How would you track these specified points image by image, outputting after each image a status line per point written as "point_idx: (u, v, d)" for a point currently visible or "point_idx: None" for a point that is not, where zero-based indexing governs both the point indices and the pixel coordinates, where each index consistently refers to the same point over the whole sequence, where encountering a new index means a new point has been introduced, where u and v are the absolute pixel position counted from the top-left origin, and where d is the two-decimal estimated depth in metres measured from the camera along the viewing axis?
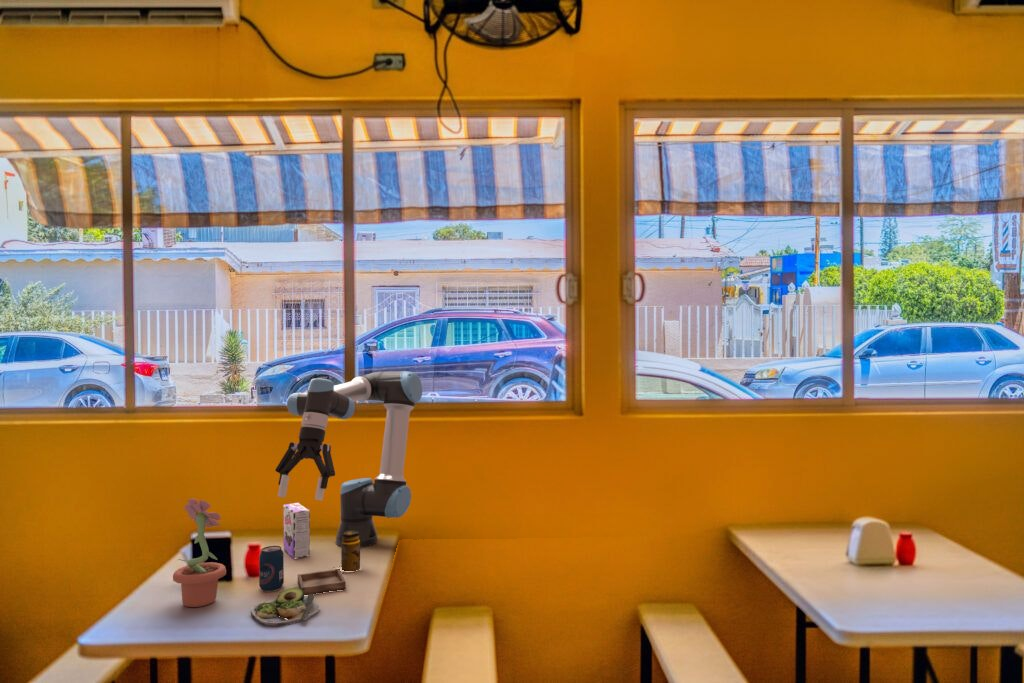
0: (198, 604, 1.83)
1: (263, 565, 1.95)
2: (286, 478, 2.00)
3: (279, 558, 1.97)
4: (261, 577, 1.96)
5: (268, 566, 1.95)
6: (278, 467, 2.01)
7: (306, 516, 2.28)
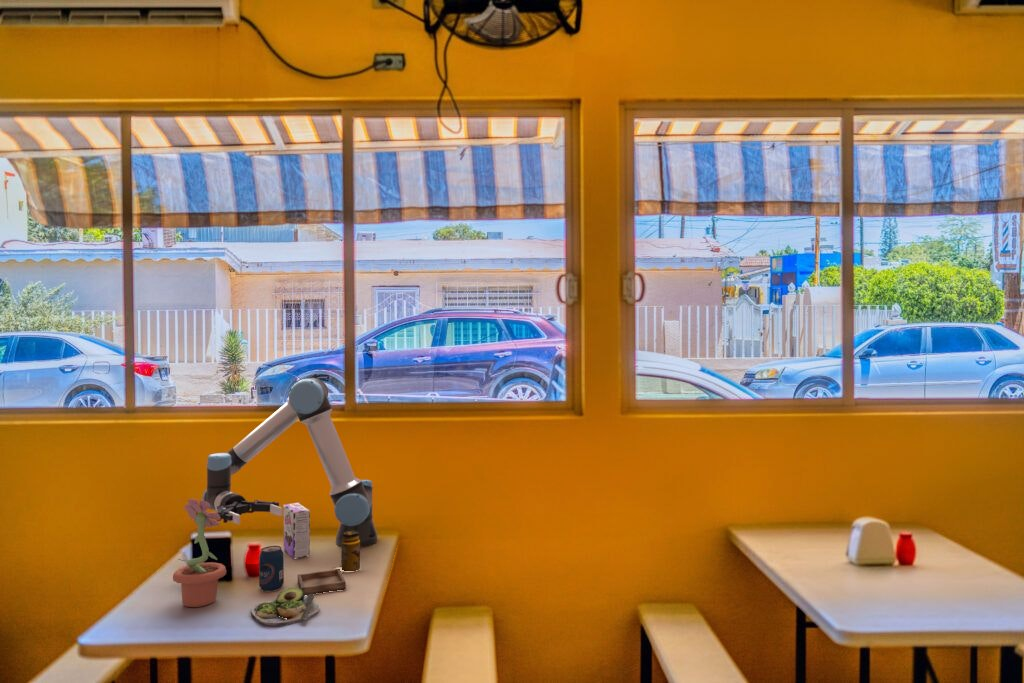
0: (198, 604, 1.83)
1: (263, 565, 1.95)
2: (271, 509, 2.14)
3: (279, 558, 1.97)
4: (261, 577, 1.96)
5: (268, 566, 1.95)
6: None
7: (306, 516, 2.28)
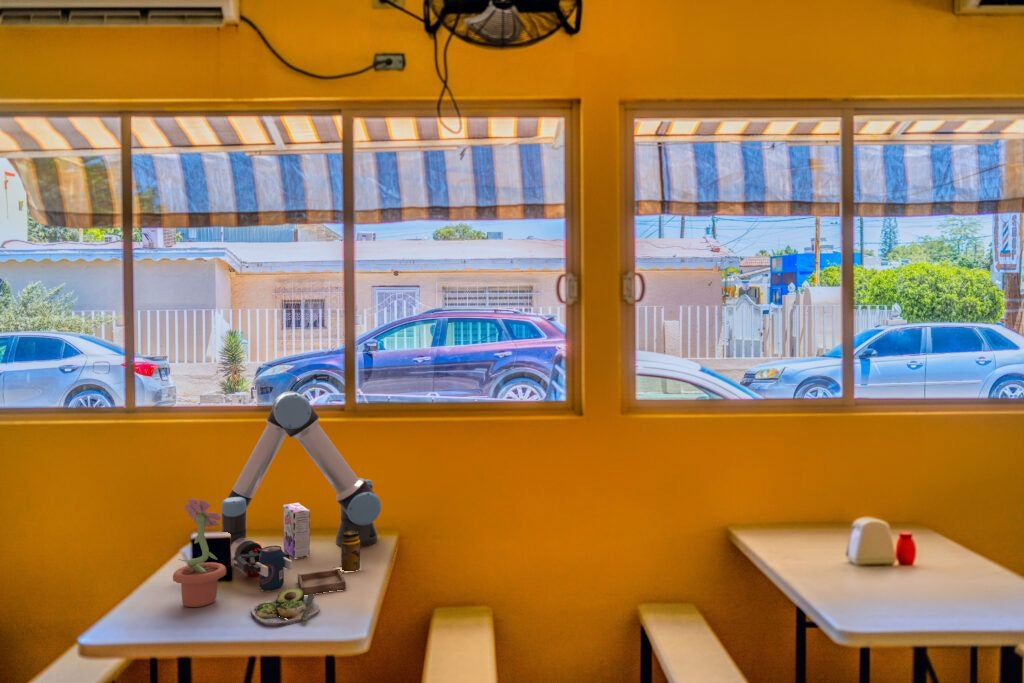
0: (198, 604, 1.83)
1: None
2: None
3: (279, 558, 1.97)
4: (261, 577, 1.96)
5: (268, 565, 1.95)
6: None
7: (306, 516, 2.28)
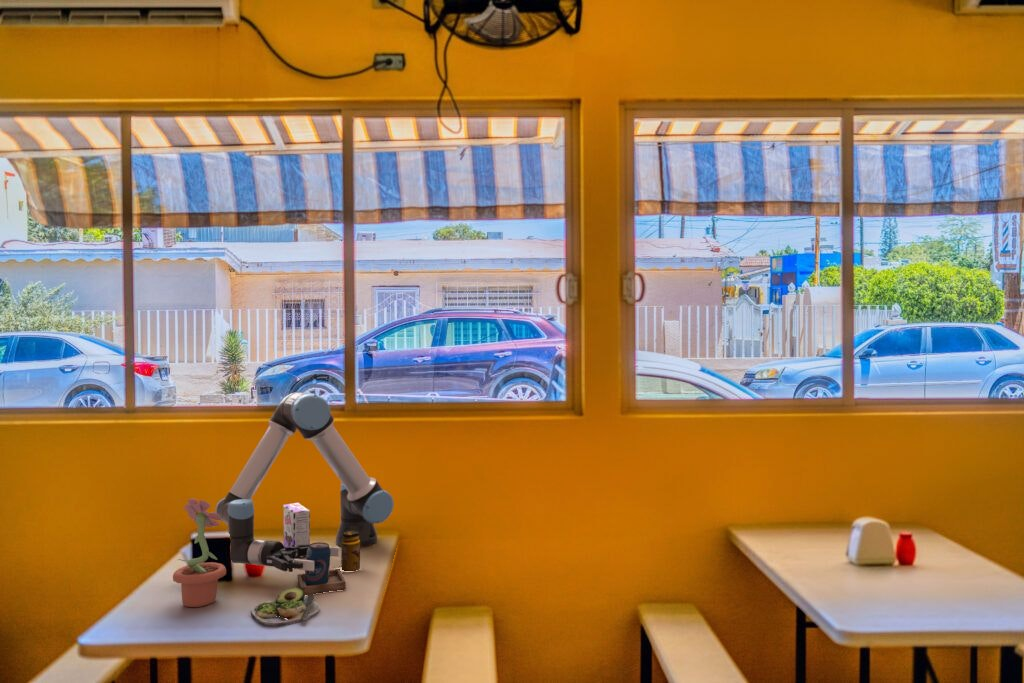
0: (198, 604, 1.83)
1: (315, 561, 1.95)
2: None
3: (329, 554, 1.98)
4: (311, 574, 1.95)
5: (321, 562, 1.95)
6: None
7: (306, 516, 2.28)
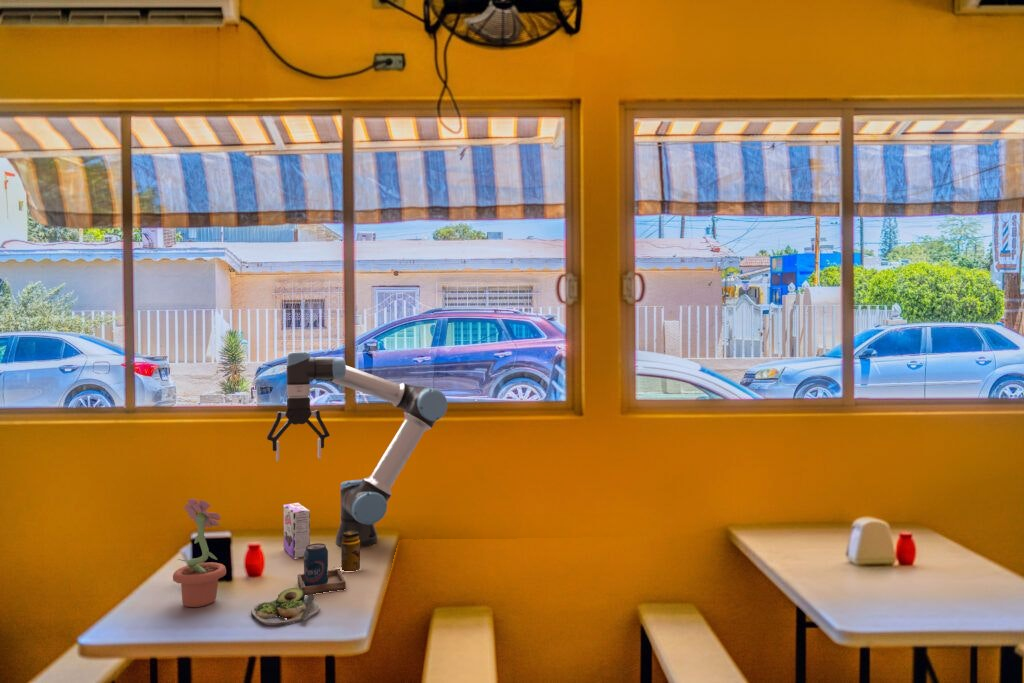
0: (198, 604, 1.83)
1: (313, 563, 1.94)
2: (278, 443, 2.21)
3: (327, 554, 1.98)
4: (310, 575, 1.94)
5: (319, 563, 1.95)
6: (270, 436, 2.19)
7: (306, 516, 2.28)
